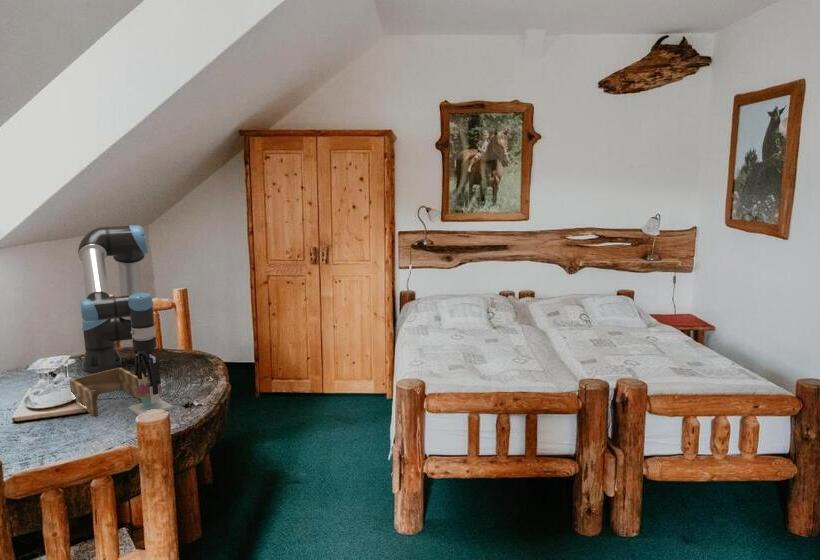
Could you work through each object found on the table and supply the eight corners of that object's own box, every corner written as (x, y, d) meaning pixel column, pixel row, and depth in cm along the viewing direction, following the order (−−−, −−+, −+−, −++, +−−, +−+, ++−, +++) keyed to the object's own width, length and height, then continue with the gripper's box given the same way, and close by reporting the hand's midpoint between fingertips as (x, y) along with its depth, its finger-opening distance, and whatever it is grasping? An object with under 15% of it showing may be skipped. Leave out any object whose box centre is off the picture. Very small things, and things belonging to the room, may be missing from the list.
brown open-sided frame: (71, 399, 225) (69, 376, 223) (122, 386, 238) (120, 364, 237) (94, 416, 210) (91, 391, 208) (147, 401, 223) (145, 377, 221)
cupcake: (146, 409, 210) (143, 376, 208) (131, 404, 215) (128, 372, 212) (168, 401, 217) (165, 369, 215) (153, 396, 222) (150, 365, 219)
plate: (128, 409, 216) (128, 406, 216) (159, 400, 224) (158, 398, 224) (142, 418, 209) (141, 415, 209) (172, 408, 217) (172, 405, 216)
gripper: (120, 334, 216) (126, 394, 220) (146, 346, 202) (152, 410, 206) (141, 330, 221) (147, 388, 225) (168, 341, 207) (173, 404, 211)
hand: (149, 399), depth 216 cm, fingers closed on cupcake, 8 cm apart
